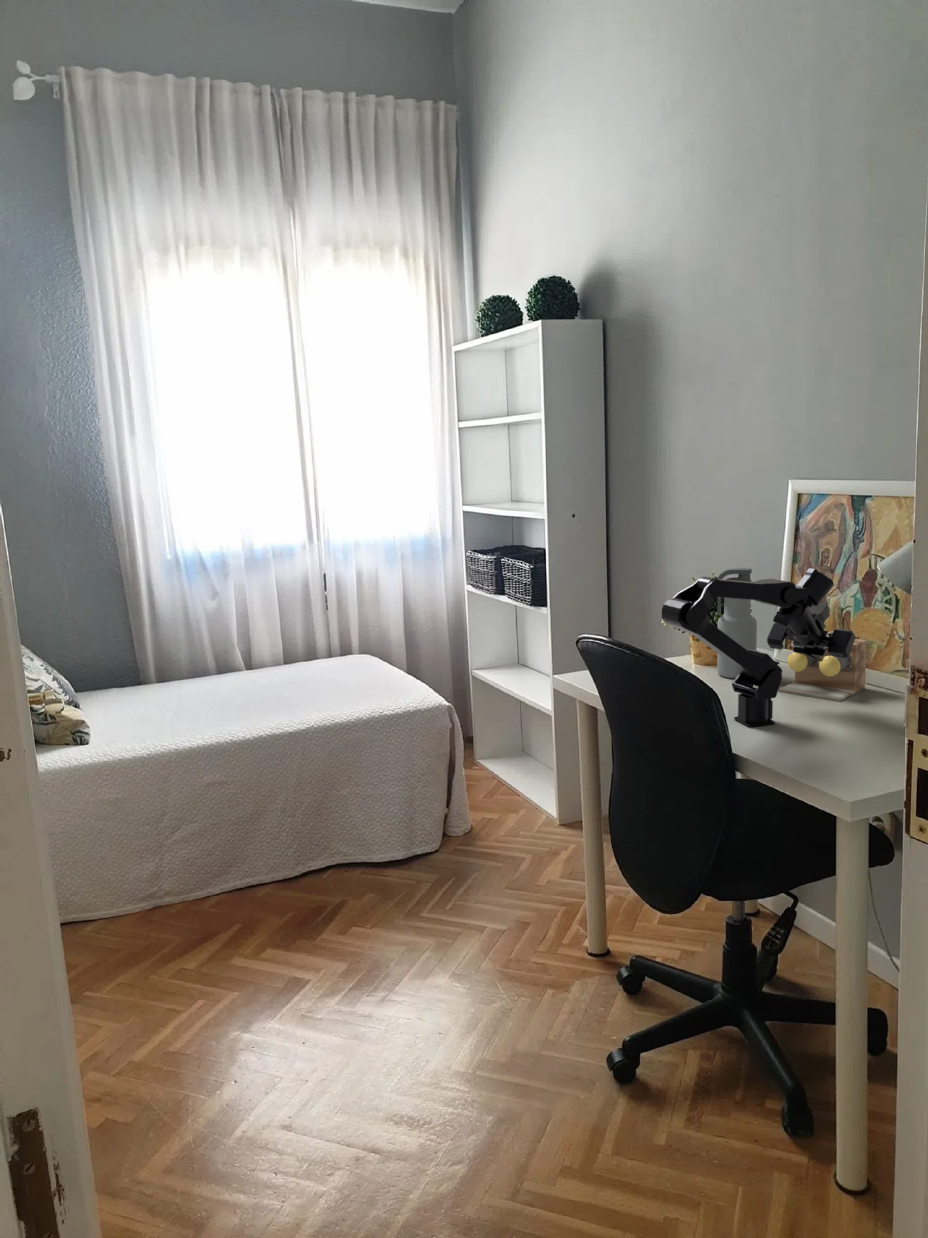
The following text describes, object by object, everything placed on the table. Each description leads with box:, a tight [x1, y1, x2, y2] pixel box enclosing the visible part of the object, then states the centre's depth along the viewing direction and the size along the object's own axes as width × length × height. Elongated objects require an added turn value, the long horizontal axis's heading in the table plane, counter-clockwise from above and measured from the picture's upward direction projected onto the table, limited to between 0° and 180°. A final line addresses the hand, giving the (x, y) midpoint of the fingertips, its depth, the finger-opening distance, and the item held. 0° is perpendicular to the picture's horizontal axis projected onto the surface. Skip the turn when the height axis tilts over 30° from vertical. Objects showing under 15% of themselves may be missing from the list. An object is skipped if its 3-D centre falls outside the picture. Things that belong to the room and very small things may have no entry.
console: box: [778, 630, 868, 702], centre depth 232 cm, size 14×15×14 cm
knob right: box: [819, 654, 851, 676], centre depth 228 cm, size 8×5×5 cm, turn 135°
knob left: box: [787, 651, 819, 672], centre depth 233 cm, size 8×5×5 cm, turn 135°
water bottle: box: [716, 567, 758, 680], centre depth 248 cm, size 10×10×28 cm
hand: (821, 659), depth 221 cm, fingers closed
